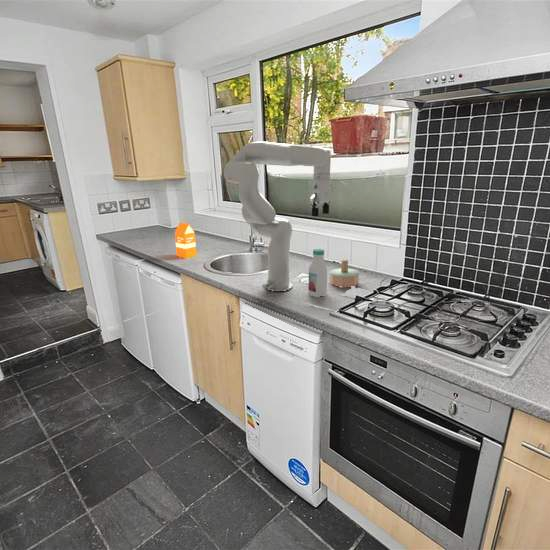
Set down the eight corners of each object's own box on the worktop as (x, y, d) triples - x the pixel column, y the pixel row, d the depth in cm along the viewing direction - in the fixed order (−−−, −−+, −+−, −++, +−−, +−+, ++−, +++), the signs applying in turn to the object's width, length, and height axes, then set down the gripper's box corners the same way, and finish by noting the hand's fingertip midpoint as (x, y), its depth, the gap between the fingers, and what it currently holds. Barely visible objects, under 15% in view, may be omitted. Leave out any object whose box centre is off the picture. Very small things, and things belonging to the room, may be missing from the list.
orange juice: (186, 258, 211) (183, 224, 205) (176, 256, 216) (173, 223, 210) (196, 256, 217) (194, 223, 211) (187, 253, 222) (184, 221, 216)
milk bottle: (324, 291, 158) (326, 247, 152) (327, 298, 151) (329, 252, 145) (307, 292, 158) (308, 247, 152) (309, 298, 151) (310, 252, 144)
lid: (351, 279, 156) (351, 265, 155) (325, 275, 164) (324, 261, 162) (363, 272, 166) (364, 258, 165) (338, 268, 174) (338, 255, 172)
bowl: (350, 289, 159) (350, 278, 157) (326, 285, 166) (326, 274, 164) (361, 282, 168) (361, 272, 166) (338, 278, 175) (338, 268, 174)
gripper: (319, 178, 156) (317, 218, 161) (337, 176, 169) (336, 213, 174) (304, 178, 160) (303, 216, 165) (323, 176, 173) (322, 212, 178)
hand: (320, 214), depth 170 cm, fingers open, 9 cm apart
